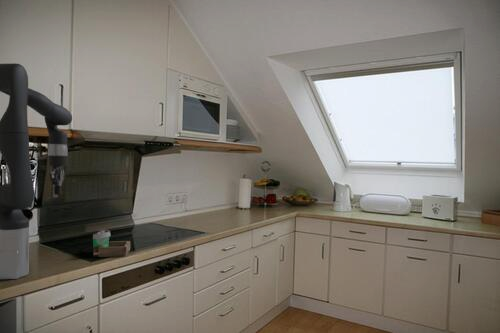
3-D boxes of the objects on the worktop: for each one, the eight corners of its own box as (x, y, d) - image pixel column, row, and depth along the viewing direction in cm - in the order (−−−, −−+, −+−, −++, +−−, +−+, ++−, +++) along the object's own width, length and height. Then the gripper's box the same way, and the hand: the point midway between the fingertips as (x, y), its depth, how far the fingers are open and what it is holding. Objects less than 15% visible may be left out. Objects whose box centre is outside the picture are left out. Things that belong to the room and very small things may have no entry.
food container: (107, 256, 152) (107, 233, 152) (92, 257, 151) (92, 234, 151) (112, 249, 164) (113, 228, 164) (98, 250, 163) (99, 229, 163)
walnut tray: (126, 256, 153) (126, 247, 153) (98, 257, 151) (98, 247, 151) (130, 249, 166) (130, 240, 166) (104, 250, 163) (104, 241, 163)
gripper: (53, 155, 157) (53, 193, 157) (42, 154, 144) (42, 195, 144) (71, 155, 159) (71, 193, 159) (62, 154, 146) (61, 195, 146)
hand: (57, 194), depth 152 cm, fingers closed
